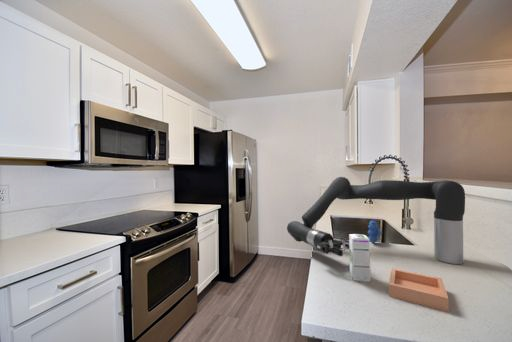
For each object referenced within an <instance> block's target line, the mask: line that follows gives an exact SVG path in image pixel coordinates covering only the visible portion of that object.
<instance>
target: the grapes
mask: <svg viewBox="0 0 512 342" xmlns="http://www.w3.org/2000/svg"><path fill="white" fill-rule="evenodd" d="M368 224H369V225H367V227H368V231H367V234H368V235H369V236H367V237H368V238H369V239H370V243H372V244H375V243H377V241H378V240H379V238H378V237H379V236H382V234H383V231H382V230H380V228H379V227H378V225H379V224H378V223H377V221H375V220H370V222H369V223H368Z"/></svg>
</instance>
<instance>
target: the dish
mask: <svg viewBox="0 0 512 342" xmlns="http://www.w3.org/2000/svg"><path fill="white" fill-rule="evenodd" d="M388 296H389V297H392V298H396V299H399V300H403V301H407V302H410V303H413V304H414V303H415V304H419V305H421V304H422V305H421V306H425V305H426V306H425V307H430V308H433V309H438V310H441V311H444V312H448V313H449V312H450V311H449V297H448V296H449V295H448V293H447V289H446V287H445V284H444V281H443V278H442V277H441V278H440V277H437V276H431V275H427V274H422V273H418V272H417V273H416V272H413V271H407V270H402V269H397V268H391V270H390V277H389V283H388Z"/></svg>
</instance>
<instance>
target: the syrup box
mask: <svg viewBox="0 0 512 342" xmlns="http://www.w3.org/2000/svg"><path fill="white" fill-rule="evenodd" d="M368 237H369V236H367V235H366V234H361V233H350V234H348V239H349V254H348V255H349V275H350V276H351V279H352V280H353V281H355V282H363V283H371V275H372V274H371V249H370V248H371V247H370V245H371V241H370V239H369V238H368Z"/></svg>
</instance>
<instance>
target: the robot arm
mask: <svg viewBox="0 0 512 342" xmlns="http://www.w3.org/2000/svg"><path fill="white" fill-rule="evenodd" d="M336 199H339V200H363V199H364V200H366V199H367V200H383V201H405V200H406V201H407V200H415V199H416V200H417V199H422V200H423V199H426V200H433V201H435V209H434V211H433V232H434V233H433V234H434V235H433V238H434V239H433V240H434V242H433V243H434V244H433V245H434V249H433V250H434V252H433V253H434V255H433V256H434V259H435V258H436V259H435V260H437V261H440V262H442V263H446V264H452V265H453V264H454V265H463V264H464V215H465V211H466V192H465V188H464V186H463V185H461V184H460V183H459V182H457V181H454V180H439V181H438V180H436V181H425V182H421V181H420V182H419V181H418V182H417V181H410V180H409V181H407V180H393V179H392V180H389V179H388V180H387V179H386V180H385V179H384V180H377V181H373V182H370V183H366V184H358V185H355V184H351V182H350V179H348V178H346V177H345V176H338V177H336V178H334V179H333V180H332V181H331V183H330V184H329V185H328V187H327V189H325V191H324V192H323V193H322V195H321V196H320V197H319V199H318V200H316V201H315V203H314V204H313V205H312V206H311V207H310V208H309V209H307V211H305V212H304V214H303V215H302V216H301V219H302V222H303V223H301V222H300V221H297V220H293V221H290V222H289V223H288V224H287V226H286V230H287V231H286V232H287V233H288V234H289V235H290V236H291V237H292V238H293V239H294V240H295V242H304V243H305V244H307V245H310V246H312V247H313V248H315V249H316V250H317V251H320V252H321V253H323V254H327V255H328V254H332V255H336V256H339V257H343V252H344V251H345V250H349V240H348V239H344V238H340V239H337V238H334V237H333V235H332V234H331V233H329V232H325V231H323V230H319V229H314V228H313V227H314V225H316V224H317V223H318V222H319V221H320V219H322V218H323V216H324V215H325V214H326V212H327V210H328V209H329V207H330V206H331V204H332V203H333V202H335V200H336Z"/></svg>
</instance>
